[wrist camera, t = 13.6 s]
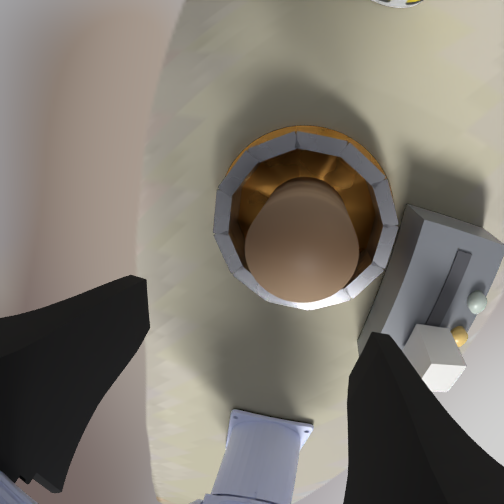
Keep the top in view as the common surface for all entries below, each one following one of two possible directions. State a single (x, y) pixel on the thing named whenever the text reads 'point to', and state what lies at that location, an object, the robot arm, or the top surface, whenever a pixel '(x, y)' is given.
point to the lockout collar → (307, 165)
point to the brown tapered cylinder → (302, 242)
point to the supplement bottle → (398, 3)
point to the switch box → (434, 277)
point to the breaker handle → (434, 356)
